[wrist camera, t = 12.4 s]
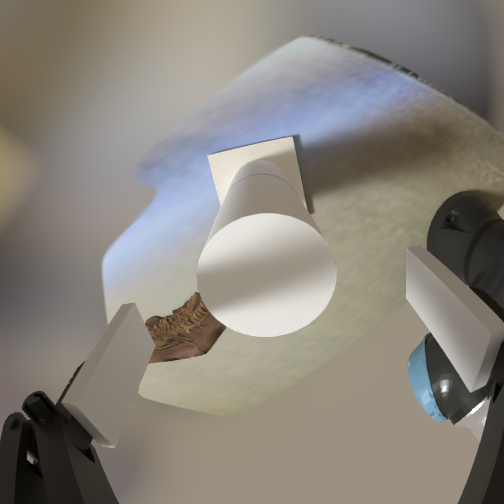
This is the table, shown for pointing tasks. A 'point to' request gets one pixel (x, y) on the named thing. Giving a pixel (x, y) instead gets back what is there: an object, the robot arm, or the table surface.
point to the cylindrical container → (265, 257)
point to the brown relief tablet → (184, 332)
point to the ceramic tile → (271, 151)
